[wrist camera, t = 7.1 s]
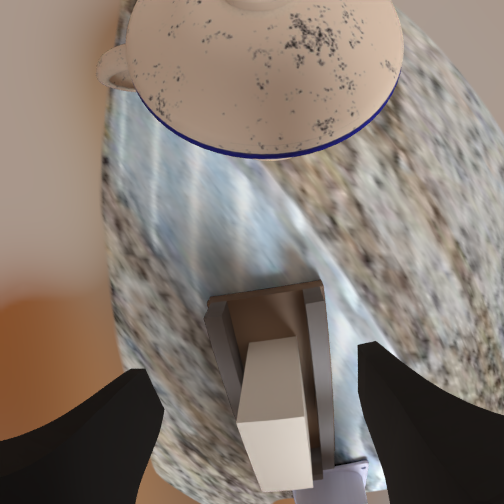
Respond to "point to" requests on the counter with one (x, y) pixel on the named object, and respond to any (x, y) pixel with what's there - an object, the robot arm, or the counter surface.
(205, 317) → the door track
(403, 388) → the robot arm
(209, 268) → the counter surface
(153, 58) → the teacup with lid
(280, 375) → the beige rectangular block
